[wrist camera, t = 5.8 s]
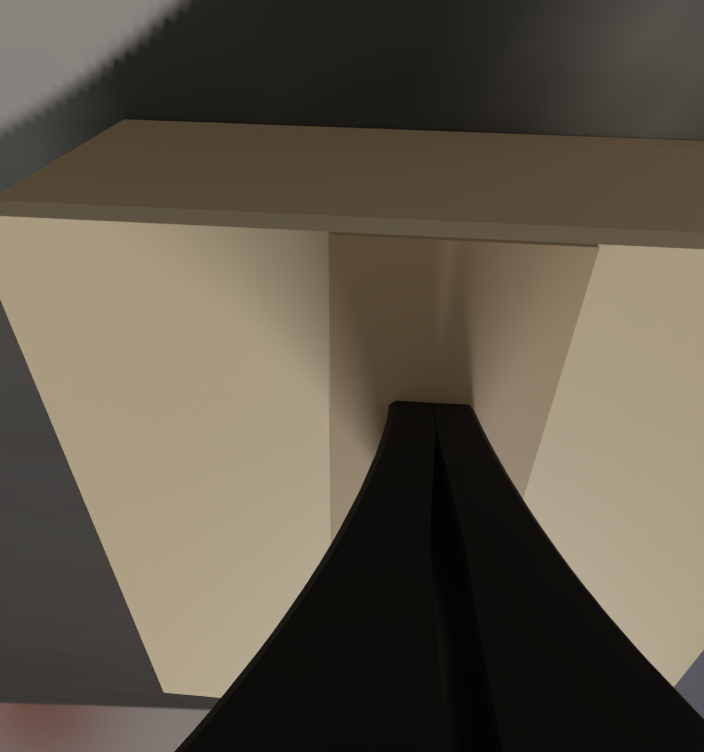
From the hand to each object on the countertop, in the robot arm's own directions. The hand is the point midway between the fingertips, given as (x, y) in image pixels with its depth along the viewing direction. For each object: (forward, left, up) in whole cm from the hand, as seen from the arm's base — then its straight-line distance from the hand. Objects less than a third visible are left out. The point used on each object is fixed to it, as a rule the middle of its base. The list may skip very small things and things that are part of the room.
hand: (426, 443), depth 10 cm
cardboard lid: (0, +4, -1) cm, 4 cm away
